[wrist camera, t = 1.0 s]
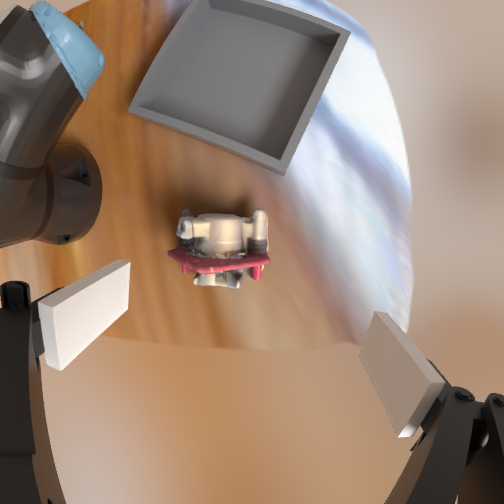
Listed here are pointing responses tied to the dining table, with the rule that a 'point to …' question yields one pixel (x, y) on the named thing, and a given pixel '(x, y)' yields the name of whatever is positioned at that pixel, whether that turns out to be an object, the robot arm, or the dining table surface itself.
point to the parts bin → (241, 77)
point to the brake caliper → (222, 247)
